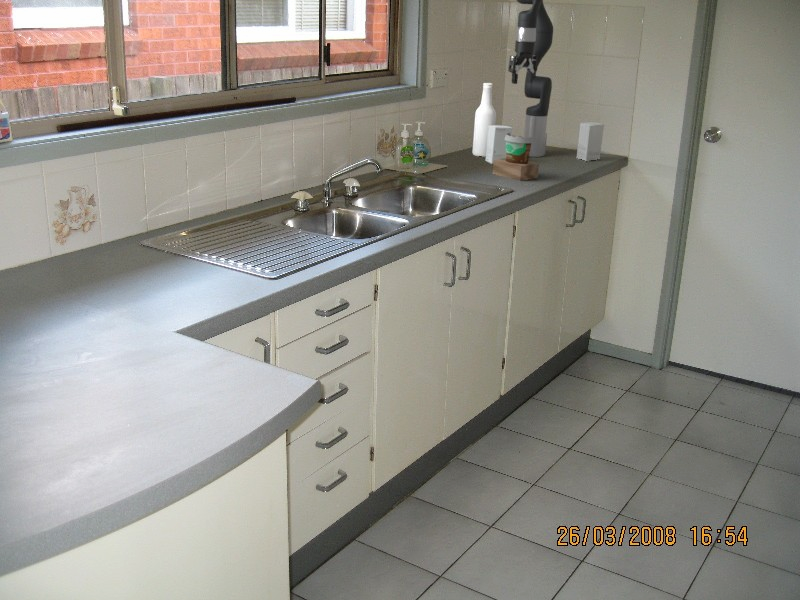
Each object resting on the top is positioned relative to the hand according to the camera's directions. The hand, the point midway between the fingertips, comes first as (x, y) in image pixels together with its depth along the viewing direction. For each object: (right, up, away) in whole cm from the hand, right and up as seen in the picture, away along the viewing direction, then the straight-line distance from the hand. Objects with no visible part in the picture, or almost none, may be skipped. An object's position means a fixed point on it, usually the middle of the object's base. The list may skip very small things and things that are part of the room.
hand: (521, 83), depth 340 cm
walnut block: (-3, -37, -4) cm, 37 cm away
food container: (-4, -32, -7) cm, 33 cm away
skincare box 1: (-7, -28, +20) cm, 35 cm away
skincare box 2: (+33, -24, +35) cm, 54 cm away
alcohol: (-12, -23, +34) cm, 42 cm away
